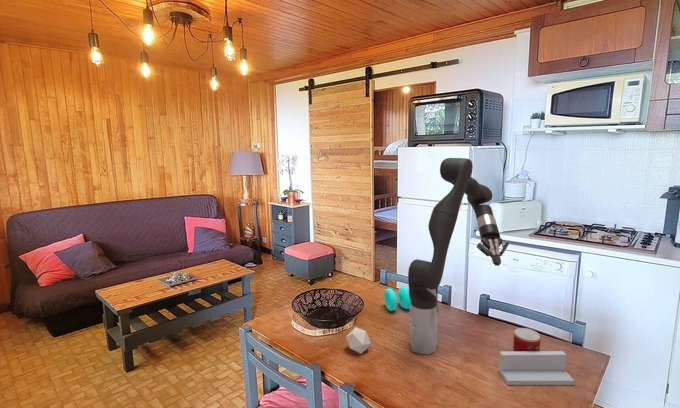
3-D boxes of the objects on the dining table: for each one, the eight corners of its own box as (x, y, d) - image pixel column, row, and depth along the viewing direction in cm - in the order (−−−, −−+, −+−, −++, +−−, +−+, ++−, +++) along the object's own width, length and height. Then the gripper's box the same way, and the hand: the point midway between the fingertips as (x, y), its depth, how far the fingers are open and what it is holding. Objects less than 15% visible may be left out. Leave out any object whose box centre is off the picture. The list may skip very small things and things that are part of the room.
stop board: (507, 385, 112) (508, 364, 111) (498, 371, 119) (499, 351, 118) (574, 385, 111) (575, 364, 110) (561, 370, 118) (562, 351, 117)
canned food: (529, 373, 117) (531, 342, 115) (507, 361, 124) (508, 331, 122) (543, 366, 121) (545, 335, 119) (521, 354, 128) (523, 325, 126)
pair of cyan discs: (383, 305, 169) (383, 285, 168) (403, 302, 172) (403, 282, 170) (391, 315, 160) (391, 293, 158) (412, 312, 162) (412, 291, 160)
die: (375, 351, 134) (369, 324, 138) (368, 351, 126) (361, 323, 131) (355, 356, 136) (349, 330, 140) (346, 357, 129) (341, 329, 133)
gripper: (474, 223, 151) (483, 261, 141) (506, 222, 150) (518, 260, 140) (469, 232, 157) (478, 269, 147) (501, 231, 156) (511, 268, 146)
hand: (497, 264), depth 143 cm, fingers closed
